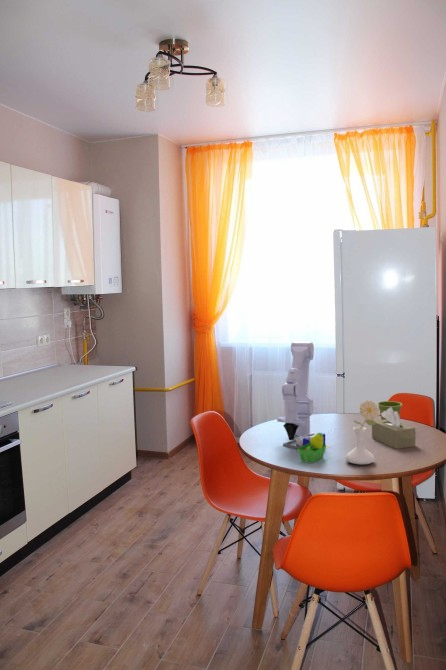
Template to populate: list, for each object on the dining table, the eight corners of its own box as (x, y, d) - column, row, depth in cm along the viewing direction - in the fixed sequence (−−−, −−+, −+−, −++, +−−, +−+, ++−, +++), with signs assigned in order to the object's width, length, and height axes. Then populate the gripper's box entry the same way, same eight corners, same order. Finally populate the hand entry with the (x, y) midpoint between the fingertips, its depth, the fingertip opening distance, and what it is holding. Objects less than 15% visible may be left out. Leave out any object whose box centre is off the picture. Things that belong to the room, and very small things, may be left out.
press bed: (278, 447, 240) (278, 445, 240) (299, 439, 251) (299, 437, 251) (309, 455, 228) (309, 452, 228) (330, 446, 239) (330, 444, 239)
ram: (296, 447, 239) (296, 438, 239) (304, 444, 243) (304, 435, 243) (304, 449, 236) (304, 440, 235) (313, 446, 240) (312, 437, 240)
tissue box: (371, 438, 251) (371, 404, 250) (389, 435, 254) (389, 402, 253) (397, 449, 233) (397, 412, 232) (416, 446, 236) (416, 410, 235)
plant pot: (372, 425, 273) (372, 402, 272) (390, 421, 278) (390, 400, 277) (388, 430, 262) (388, 407, 261) (407, 427, 267) (407, 404, 266)
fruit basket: (311, 454, 230) (310, 427, 229) (330, 457, 224) (329, 430, 223) (296, 461, 221) (296, 433, 220) (316, 465, 216) (315, 437, 215)
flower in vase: (345, 466, 213) (345, 403, 210) (344, 457, 224) (344, 397, 222) (380, 467, 210) (380, 403, 208) (377, 458, 221) (377, 397, 219)
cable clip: (317, 445, 241) (316, 432, 241) (325, 447, 238) (325, 433, 238) (300, 451, 233) (299, 437, 233) (308, 453, 230) (308, 439, 229)
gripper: (272, 409, 246) (273, 438, 247) (298, 413, 235) (299, 444, 237) (282, 406, 251) (283, 435, 252) (308, 410, 240) (308, 441, 242)
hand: (291, 439), depth 245 cm, fingers closed
